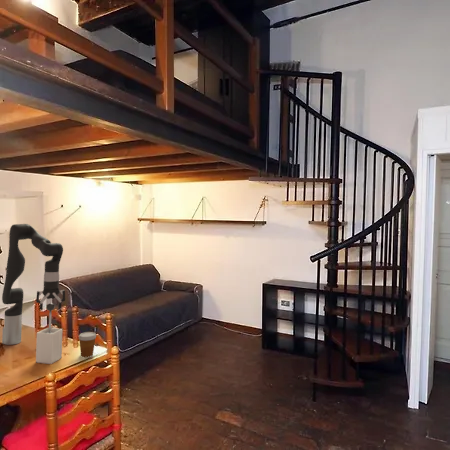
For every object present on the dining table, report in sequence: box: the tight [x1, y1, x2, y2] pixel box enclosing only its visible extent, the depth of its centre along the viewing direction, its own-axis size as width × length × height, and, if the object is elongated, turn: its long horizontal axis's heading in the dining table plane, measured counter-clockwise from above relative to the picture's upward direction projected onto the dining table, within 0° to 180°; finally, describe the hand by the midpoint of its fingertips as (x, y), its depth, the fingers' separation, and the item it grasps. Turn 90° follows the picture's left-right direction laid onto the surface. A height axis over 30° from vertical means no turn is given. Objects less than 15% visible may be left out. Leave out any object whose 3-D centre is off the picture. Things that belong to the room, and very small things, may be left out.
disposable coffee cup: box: [78, 331, 97, 358], centre depth 202 cm, size 10×10×12 cm
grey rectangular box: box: [35, 327, 63, 365], centre depth 195 cm, size 9×12×16 cm
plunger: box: [46, 302, 56, 334], centre depth 193 cm, size 7×7×17 cm
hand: (50, 309), depth 193 cm, fingers open, 8 cm apart
